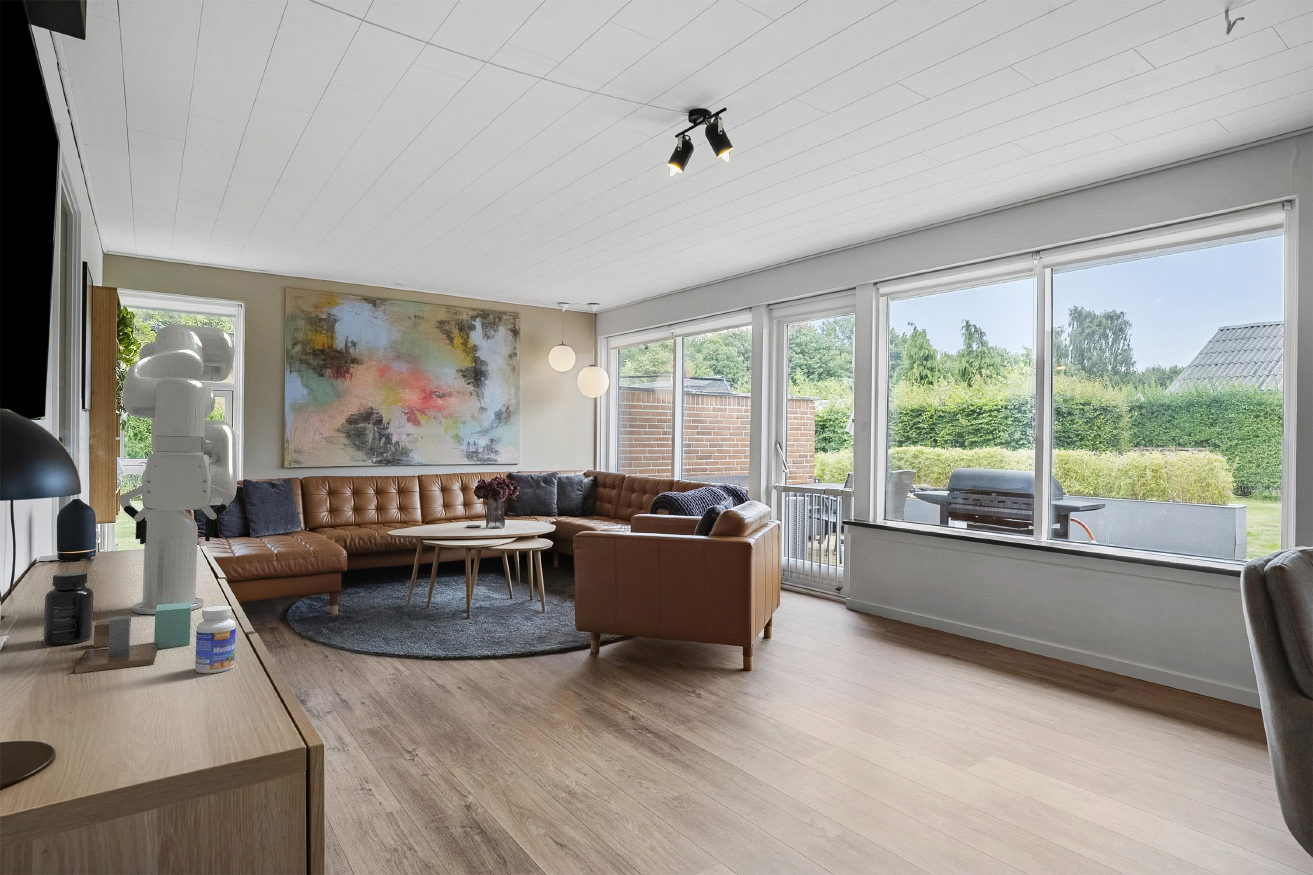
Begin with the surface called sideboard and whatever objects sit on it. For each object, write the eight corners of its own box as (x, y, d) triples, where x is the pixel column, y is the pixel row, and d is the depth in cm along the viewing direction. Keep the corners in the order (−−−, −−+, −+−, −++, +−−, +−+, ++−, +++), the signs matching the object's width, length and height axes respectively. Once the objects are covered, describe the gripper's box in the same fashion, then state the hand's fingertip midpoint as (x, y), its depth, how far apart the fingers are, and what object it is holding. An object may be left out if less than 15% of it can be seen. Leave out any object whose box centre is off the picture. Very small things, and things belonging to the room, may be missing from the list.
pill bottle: (215, 675, 111) (218, 612, 112) (186, 672, 112) (188, 610, 113) (242, 665, 117) (244, 605, 117) (214, 662, 118) (216, 603, 118)
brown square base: (85, 656, 119) (86, 614, 119) (157, 648, 125) (159, 608, 125) (75, 673, 111) (76, 627, 111) (153, 664, 116) (155, 621, 116)
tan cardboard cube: (96, 643, 127) (96, 621, 127) (117, 641, 128) (118, 619, 128) (93, 647, 124) (94, 624, 124) (115, 645, 126) (115, 622, 126)
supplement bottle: (102, 636, 131) (104, 571, 132) (68, 646, 125) (70, 578, 125) (68, 634, 132) (70, 569, 132) (32, 644, 125) (34, 576, 125)
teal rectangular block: (156, 641, 129) (157, 604, 129) (190, 638, 132) (191, 602, 132) (153, 648, 125) (155, 610, 125) (189, 645, 127) (190, 607, 127)
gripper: (234, 447, 136) (231, 537, 136) (121, 445, 127) (118, 541, 127) (235, 448, 130) (232, 542, 130) (116, 445, 121) (113, 547, 121)
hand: (175, 541), depth 128 cm, fingers open, 9 cm apart
